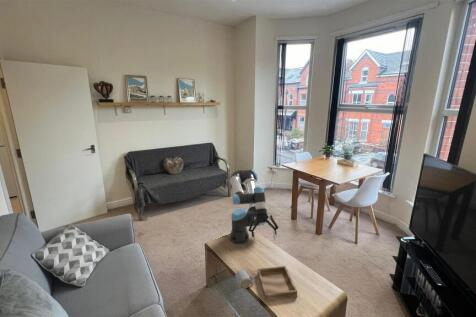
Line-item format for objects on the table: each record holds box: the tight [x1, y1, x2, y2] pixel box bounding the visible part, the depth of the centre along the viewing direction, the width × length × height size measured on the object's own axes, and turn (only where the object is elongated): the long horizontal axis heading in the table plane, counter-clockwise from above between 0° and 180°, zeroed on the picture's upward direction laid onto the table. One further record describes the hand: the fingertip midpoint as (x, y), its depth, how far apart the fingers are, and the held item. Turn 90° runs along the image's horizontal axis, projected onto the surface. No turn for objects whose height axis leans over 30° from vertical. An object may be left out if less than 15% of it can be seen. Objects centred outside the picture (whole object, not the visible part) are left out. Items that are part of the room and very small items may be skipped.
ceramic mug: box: [234, 269, 255, 290], centre depth 137 cm, size 11×8×8 cm
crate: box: [257, 265, 298, 302], centre depth 136 cm, size 20×18×4 cm
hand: (265, 241), depth 152 cm, fingers open, 13 cm apart
